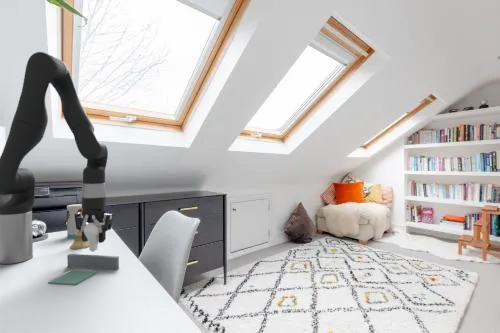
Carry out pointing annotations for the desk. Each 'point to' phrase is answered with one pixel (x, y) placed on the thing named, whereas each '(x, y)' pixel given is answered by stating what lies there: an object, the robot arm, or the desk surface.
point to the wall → (93, 261)
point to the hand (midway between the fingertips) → (93, 241)
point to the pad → (73, 277)
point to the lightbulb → (92, 235)
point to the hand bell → (79, 238)
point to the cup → (72, 220)
